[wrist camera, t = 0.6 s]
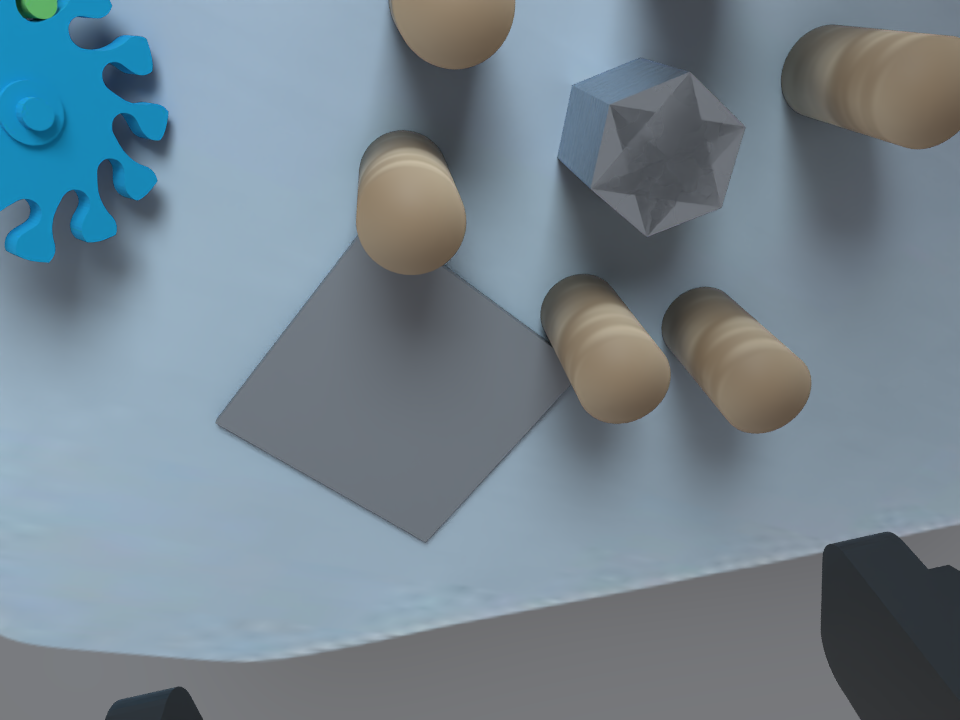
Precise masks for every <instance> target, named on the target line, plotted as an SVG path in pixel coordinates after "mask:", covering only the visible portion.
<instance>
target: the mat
mask: <svg viewBox="0 0 960 720" xmlns="http://www.w3.org/2000/svg"><path fill="white" fill-rule="evenodd" d="M570 385H571V383H570V381H569V379H568V377H567V375H566V373H565V371H564V369H563V367H562V365H561V362H560V360H559V358H558V356H557V354H556V352H555V350H554V348H553V346H552V344H550V343H549V342H547V341H546V340H545V339H543V338H542V337H541V336H539V335H538V334H537V333H535V332H534V331H533V330H531V329H530V328H528V327H527V326H526V325H524V324H523V323H522V322H520V321H519V320H518V319H516V318H515V317H514V316H512V315H511V314H509V313H508V312H507V311H505V310H504V309H503V308H501V307H500V306H499V305H497V304H496V303H495V302H493V301H492V300H491V299H489V298H488V297H486V296H485V295H484V294H482V293H481V292H480V291H478V290H477V289H476V288H474V287H473V286H472V285H470V284H469V283H467V282H466V281H465V280H463V279H462V278H461V277H459V276H458V275H457V274H455V273H454V272H453V271H451V270H450V269H448V268H447V267H446V266H444V265H442V266H441V267H439V268H438V269H435V270H433V271H431V272H428V273H424V274H419V275H404V274H398V273H395V272H392V271H389V270H387V269H385V268H383V267H382V266H380V265H379V264H377V263H376V262H375V261H374V260H373V259H372V258H371V257H370V256H369V255H368V254H367V252H366V251H365V250H364V248H363V246H362V244H361V242H360V239H359V237H358V236H357V237H356V238H355V240H354V241H353V242H352V244H351V245H350V246H349V247H348V249H347V250H346V251H345V253H344V254H343V255H342V257H341V258H340V259H339V260H338V262H337V263H336V264H335V266H334V267H333V268H332V270H331V271H330V272H329V273H328V275H327V276H326V277H325V279H324V280H323V281H322V283H321V284H320V285H319V286H318V288H317V289H316V290H315V292H314V293H313V294H312V296H311V297H310V298H309V299H308V301H307V302H306V303H305V305H304V306H303V307H302V309H301V310H300V311H299V313H298V314H297V315H296V316H295V318H294V319H293V320H292V322H291V323H290V324H289V326H288V327H287V328H286V329H285V331H284V332H283V333H282V335H281V336H280V337H279V339H278V340H277V341H276V342H275V344H274V345H273V346H272V348H271V349H270V350H269V352H268V353H267V354H266V355H265V357H264V358H263V359H262V361H261V362H260V363H259V365H258V366H257V367H256V368H255V370H254V371H253V372H252V374H251V375H250V376H249V378H248V379H247V380H246V382H245V383H244V384H243V385H242V387H241V388H240V389H239V391H238V392H237V393H236V395H235V396H234V397H233V398H232V400H231V401H230V402H229V404H228V405H227V406H226V408H225V409H224V410H223V411H222V413H221V414H220V415H219V417H218V418H217V420H216V424H218V425H219V426H221V427H223V428H225V429H227V430H228V431H230V432H232V433H234V434H235V435H237V436H239V437H241V438H242V439H244V440H246V441H248V442H249V443H251V444H253V445H255V446H257V447H258V448H260V449H262V450H264V451H265V452H267V453H269V454H271V455H272V456H274V457H276V458H278V459H279V460H281V461H283V462H285V463H287V464H288V465H290V466H292V467H294V468H295V469H297V470H299V471H301V472H302V473H304V474H306V475H308V476H309V477H311V478H313V479H315V480H317V481H318V482H320V483H322V484H324V485H325V486H327V487H329V488H331V489H332V490H334V491H336V492H338V493H339V494H341V495H343V496H345V497H347V498H348V499H350V500H352V501H354V502H355V503H357V504H359V505H361V506H362V507H364V508H366V509H368V510H369V511H371V512H373V513H375V514H377V515H378V516H380V517H382V518H384V519H385V520H387V521H389V522H391V523H392V524H394V525H396V526H398V527H399V528H401V529H403V530H405V531H407V532H408V533H410V534H412V535H414V536H415V537H417V538H419V539H421V540H422V541H424V542H426V541H427V540H428V539H429V538H430V537H431V536H432V535H433V534H434V533H435V532H436V531H437V529H438V528H439V527H440V526H441V525H442V524H443V523H444V522H445V521H446V520H447V519H448V518H449V516H450V515H451V514H452V513H453V512H454V511H455V510H456V509H457V508H458V507H459V506H460V504H461V503H462V502H463V501H464V500H465V499H466V498H467V497H468V496H469V495H470V494H471V493H472V491H473V490H474V489H475V488H476V487H477V486H478V485H479V484H480V483H481V482H482V481H483V480H484V478H485V477H486V476H487V475H488V474H489V473H490V472H491V471H492V470H493V469H494V468H495V467H496V465H497V464H498V463H499V462H500V461H501V460H502V459H503V458H504V457H505V456H506V455H507V453H508V452H509V451H510V450H511V449H512V448H513V447H514V446H515V445H516V444H517V443H518V442H519V440H520V439H521V438H522V437H523V436H524V435H525V434H526V433H527V432H528V431H529V430H530V429H531V427H532V426H533V425H534V424H535V423H536V422H537V421H538V420H539V419H540V418H541V417H542V415H543V414H544V413H545V412H546V411H547V410H548V409H549V408H550V407H551V406H552V405H553V404H554V402H555V401H556V400H557V399H558V398H559V397H560V396H561V395H562V394H563V393H564V392H565V391H566V389H567V388H568V387H569V386H570Z"/></svg>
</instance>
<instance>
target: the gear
mask: <svg viewBox="0 0 960 720" xmlns="http://www.w3.org/2000/svg"><path fill="white" fill-rule="evenodd" d="M111 7H112V4H111V2H110V0H0V211H2V210H3V209H4V208H6V207H7V206H9V205H11V204H13V203H14V202H16V201H18V200H20V199H25V200H26V201H27V202H28V203H29V206H30V216H29V218H28V219H27V220H26V221H25V222H24V223H22V224H21V225H19V226H17V227H16V228H14V229H13V230H11V231H10V232H9V233H8V235H7V237H6V239H5V249H6V251H8V252H10V253H12V254H14V255H16V256H19V257H21V258H24V259H27V260H30V261H36V262H48V263H49V262H50V261H51V260H52V258H53V256H54V254H55V243H54V239H53V233H52V224H53V218H54V214H55V212H56V209H57V207H58V205H59V203H60V201H61V199H62V198H63V196H64V195H65V194H66V193H67V192H68V191H70V190H74V191H75V192H76V194H77V196H78V200H79V203H78V206H77V209H76V211H75V212H74V214H73V216H72V218H71V222H70V229H71V232H72V234H73V235H74V237H75V238H77V239H79V240H82V241H85V242H98V241H102V240H105V239H108V238H110V237H112V236H114V235H116V232H117V225H116V222H115V220H114V218H113V217H112V216H111V215H110V214H109V213H108V212H107V210H106V209H105V207H104V205H103V203H102V201H101V199H100V195H99V192H98V184H97V169H98V166H99V164H100V163H101V162H102V161H103V160H105V159H108V160H109V161H110V163H111V165H112V168H113V184H114V187H115V189H116V191H117V192H118V193H119V194H120V195H122V196H124V197H127V198H130V199H134V200H137V201H138V200H140V199H141V198H143V197H144V196H145V195H147V194H148V193H149V191H150V190H151V189H152V188H153V186H154V185H155V184H156V182H157V178H156V175H155V173H154V172H153V171H152V170H151V169H150V168H148V167H146V166H143V165H140V164H139V163H137V162H135V161H134V160H132V159H131V158H130V157H129V156H128V155H127V154H126V153H125V152H124V151H123V149H122V148H121V146H120V145H119V143H118V141H117V139H116V137H115V135H114V133H113V131H112V122H113V120H114V118H115V117H116V116H117V115H118V114H121V115H122V116H123V117H124V118H125V120H126V122H127V124H128V126H129V128H130V129H131V131H132V132H133V133H134V134H135V135H137V136H138V137H141V138H146V139H151V140H161V138H162V137H163V135H164V132H165V130H166V125H167V120H168V111H167V110H166V108H164V107H163V106H161V105H159V104H153V103H146V102H139V103H130V102H128V101H125V100H124V99H122V98H120V97H119V96H117V95H116V94H115V93H113V92H112V91H110V90H109V89H108V88H107V87H106V86H105V84H104V82H103V78H102V72H103V69H104V67H105V66H106V65H107V64H108V63H111V64H112V65H113V66H115V67H116V68H117V69H119V70H120V71H122V72H124V73H127V74H135V75H147V74H149V73H151V72H152V70H153V62H152V56H151V52H150V48H149V45H148V42H147V39H146V38H144V37H140V36H129V35H123V36H120V37H118V38H116V39H115V40H114V41H113V42H112V43H110V44H108V45H107V46H105V47H102V48H99V49H92V50H89V49H83V48H80V47H78V46H77V45H75V44H74V43H73V41H72V40H71V38H70V36H69V30H68V28H69V24H70V22H71V20H72V19H73V18H75V17H83V18H102V17H104V16H106V15H107V14H108V13H109V12H110V10H111ZM25 18H34V19H33V20H30V21H28V20H26V19H25Z"/></svg>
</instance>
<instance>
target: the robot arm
mask: <svg viewBox="0 0 960 720" xmlns="http://www.w3.org/2000/svg"><path fill="white" fill-rule="evenodd" d="M821 637H822V643H823V647H824V651H825V655H826V658H827V660H828V663H829V666H830V668H831V670H832V673H833V675H834V677H835V679H836V681H837V682H838V684H839V686H840V687H841V689H842V691H843V692H844V694H845V695H846V697H847V698H848V700H849V701H850V703H851V705H852V706H853V708H854V710H855V711H856V713H857V714H858V716H859V717H860V719H861V720H960V571H958V570H957V569H955V568H953V567H952V566H950V565H946V566H942V567H937V568H933V569H927V567H926V566H925V565H924V564H923V563H922V562H921V561H920V560H919V559H918V557H917V556H916V555H915V554H914V553H913V552H912V551H911V550H910V549H909V547H908V546H907V545H906V544H905V543H904V542H903V541H902V540H901V539H900V538H899V537H898V536H896V535H895V534H893V533H891V532H883V533H878V534H874V535H869V536H865V537H860V538H856V539H851V540H847V541H842V542H838V543H833V544H829V545H827V546H826V547H825V549H824V552H823V563H822V603H821ZM105 720H203V718H202V717H201V715H200V713H199V711H198V709H197V707H196V705H195V704H194V701H193V700H192V698H191V696H190V694H189V693H188V692H187V690H186V689H184V688H182V687H175V688H170V689H166V690H162V691H157V692H152V693H148V694H143V695H139V696H134V697H130V698H125V699H121V700H118V701H116V702H115V703H114V704H113V705H112V707H111V708H110V710H109V711H108V714H107V716H106V719H105Z"/></svg>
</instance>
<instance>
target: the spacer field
mask: <svg viewBox="0 0 960 720" xmlns="http://www.w3.org/2000/svg"><path fill="white" fill-rule="evenodd" d="M389 8H390V12H391V15H392V18H393V20H394V23H395V25H396V26H397V28H398V30H399V32H400V34H401V35H402V37H403V39H404V40H405V42H406V43H407V45H408V46H409V47H410V48H411V50H412V51H413V52H415V53H416V54H417V55H418V56H419V57H420V58H422V59H423V60H425V61H426V62H428V63H430V64H432V65H435V66H437V67H441V68H445V69H464V68H469V67H472V66H475V65H478V64H480V63H482V62H483V61H485V60H486V59H488V58H489V57H491V56H492V55H493V54H494V53H495V52H496V51H497V50H498V49H499V48H500V46H501V45H502V44H503V42H504V41H505V39H506V37H507V35H508V33H509V31H510V28H511V26H512V23H513V18H514V12H515V0H389ZM781 85H782V91H783V95H784V97H785V100H786V101H787V103H788V104H789V106H790V107H791V108H792V109H793V110H794V111H796V112H797V113H799V114H801V115H803V116H806V117H810V118H813V119H816V120H819V121H822V122H826V123H829V124H832V125H835V126H838V127H842V128H845V129H848V130H851V131H854V132H858V133H861V134H864V135H867V136H871V137H874V138H877V139H880V140H883V141H887V142H890V143H893V144H896V145H899V146H903V147H906V148H910V149H925V148H930V147H933V146H936V145H939V144H941V143H943V142H945V141H946V140H948V139H950V138H951V137H952V136H954V135H955V134H956V133H957V132H958V131H959V130H960V38H958V37H955V36H946V35H936V34H925V33H915V32H904V31H894V30H884V29H873V28H863V27H852V26H842V25H825V26H821V27H818V28H815V29H813V30H811V31H810V32H808V33H806V34H805V35H804V36H803V37H801V38H800V39H799V40H798V41H797V42H796V44H795V45H794V46H793V47H792V49H791V50H790V52H789V54H788V56H787V58H786V60H785V63H784V66H783V70H782V76H781ZM356 226H357V233H358V237H359V239H360V242H361V244H362V246H363V248H364V250H365V251H366V252H367V254H368V255H369V256H370V257H371V258H372V259H373V260H374V261H375V262H376V263H377V264H379V265H380V266H382V267H383V268H385V269H387V270H389V271H392V272H395V273H398V274H404V275H419V274H424V273H428V272H431V271H433V270H435V269H438V268H439V267H441V266H442V265H444V264H445V263H446V262H448V261H449V260H450V259H451V258H452V257H453V256H454V255H455V253H456V252H457V250H458V249H459V247H460V245H461V243H462V241H463V238H464V234H465V230H466V214H465V209H464V206H463V202H462V200H461V198H460V195H459V193H458V190H457V188H456V186H455V183H454V181H453V178H452V176H451V173H450V171H449V169H448V166H447V164H446V161H445V159H444V157H443V155H442V153H441V151H440V150H439V148H438V147H437V146H436V145H435V144H434V143H433V142H432V141H431V140H430V139H428V138H427V137H425V136H423V135H421V134H419V133H416V132H412V131H405V130H401V131H393V132H389V133H386V134H384V135H382V136H380V137H379V138H377V139H376V140H375V141H374V142H372V143H371V144H370V146H369V147H368V148H367V150H366V151H365V153H364V155H363V157H362V159H361V163H360V168H359V181H358V198H357V215H356ZM541 322H542V326H543V328H544V330H545V332H546V334H547V336H548V338H549V340H550V342H551V344H552V346H553V348H554V350H555V352H556V354H557V356H558V358H559V360H560V362H561V365H562V367H563V369H564V371H565V373H566V375H567V377H568V379H569V381H570V383H571V385H572V387H573V389H574V391H575V393H576V395H577V397H578V399H579V401H580V403H581V405H582V406H583V408H584V409H585V410H586V411H587V412H588V413H589V414H590V415H591V416H593V417H594V418H596V419H598V420H600V421H603V422H606V423H613V424H620V423H628V422H632V421H635V420H638V419H640V418H642V417H644V416H645V415H647V414H649V413H650V412H651V411H653V410H654V409H655V408H656V407H657V406H658V405H659V403H660V402H661V401H662V400H663V398H664V396H665V395H666V393H667V390H668V388H669V384H670V377H671V372H670V366H669V362H668V360H667V358H666V356H665V355H664V353H663V352H662V351H661V349H660V348H659V347H658V346H657V344H656V343H655V342H654V341H653V339H652V338H651V337H650V335H649V334H648V333H647V332H646V330H645V329H644V328H643V327H642V325H641V324H640V323H639V321H638V320H637V319H636V318H635V316H634V315H633V314H632V313H631V311H630V310H629V309H628V307H627V306H626V305H625V304H624V302H623V301H622V300H621V299H620V297H619V296H618V295H617V293H616V292H615V291H614V290H613V288H612V287H611V286H610V285H609V284H608V283H607V282H606V281H605V280H603V279H601V278H599V277H597V276H594V275H589V274H578V275H573V276H570V277H567V278H565V279H563V280H561V281H560V282H558V283H557V284H556V285H554V286H553V287H552V288H551V289H550V291H549V292H548V293H547V295H546V297H545V298H544V301H543V303H542V307H541ZM662 335H663V339H664V341H665V343H666V345H667V346H668V348H669V349H670V350H671V351H672V353H673V354H674V355H675V356H676V357H677V359H678V360H679V361H680V362H681V364H682V365H683V366H684V367H685V369H686V370H687V371H688V372H689V373H690V375H691V376H692V377H693V378H694V380H695V381H696V382H697V383H698V385H699V386H700V387H701V388H702V390H703V391H704V392H705V393H706V394H707V396H708V397H709V398H710V399H711V401H712V402H713V403H714V404H715V406H716V407H717V408H718V409H719V410H720V412H721V413H722V414H723V415H724V417H725V418H726V419H727V420H728V422H729V423H730V424H731V425H732V426H734V427H735V428H737V429H738V430H741V431H743V432H747V433H756V434H758V433H766V432H770V431H773V430H776V429H778V428H781V427H782V426H784V425H786V424H787V423H789V422H790V421H791V420H792V419H794V418H795V417H796V416H797V415H798V414H799V413H800V411H801V410H802V409H803V407H804V406H805V404H806V402H807V400H808V398H809V394H810V390H811V376H810V372H809V370H808V368H807V366H806V365H805V363H804V362H803V361H802V360H801V359H800V358H798V357H797V356H796V355H795V354H794V353H793V352H792V351H790V350H789V349H788V348H787V347H786V346H785V345H784V344H783V343H781V342H780V341H779V340H778V339H777V338H776V337H775V336H773V335H772V334H771V333H770V332H769V331H768V330H767V329H765V328H764V327H763V326H762V325H761V324H760V323H759V322H758V321H756V320H755V319H754V318H753V317H752V316H751V315H750V314H748V313H747V312H746V311H745V310H744V309H743V308H742V307H741V306H739V305H738V304H737V303H736V302H735V301H734V300H733V299H731V298H730V297H729V296H728V295H727V294H726V293H724V292H723V291H721V290H719V289H716V288H712V287H699V288H695V289H692V290H689V291H687V292H685V293H683V294H682V295H680V296H679V297H678V298H676V299H675V300H674V301H673V302H672V304H671V305H670V306H669V308H668V309H667V311H666V313H665V315H664V318H663V322H662Z"/></svg>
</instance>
